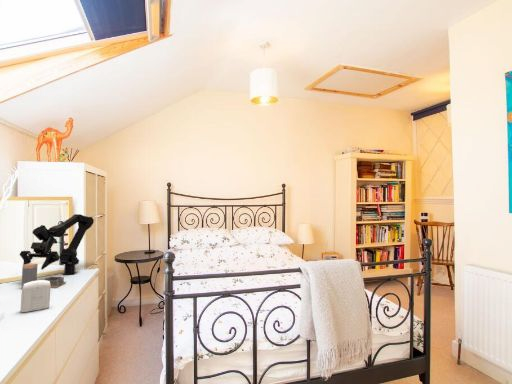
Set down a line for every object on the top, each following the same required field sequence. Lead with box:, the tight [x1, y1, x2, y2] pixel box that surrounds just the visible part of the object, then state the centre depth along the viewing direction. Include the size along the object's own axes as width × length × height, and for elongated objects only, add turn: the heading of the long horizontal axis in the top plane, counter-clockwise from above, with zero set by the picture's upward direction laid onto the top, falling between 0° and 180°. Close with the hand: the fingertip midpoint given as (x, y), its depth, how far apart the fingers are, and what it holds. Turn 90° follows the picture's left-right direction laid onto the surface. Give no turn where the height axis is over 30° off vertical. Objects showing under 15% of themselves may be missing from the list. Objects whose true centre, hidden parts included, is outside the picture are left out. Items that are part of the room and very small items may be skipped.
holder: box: [43, 276, 67, 289], centre depth 167 cm, size 9×9×4 cm
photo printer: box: [19, 279, 52, 313], centre depth 132 cm, size 10×4×12 cm, turn 134°
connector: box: [21, 262, 39, 289], centre depth 161 cm, size 5×5×13 cm
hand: (32, 269), depth 163 cm, fingers open, 9 cm apart
